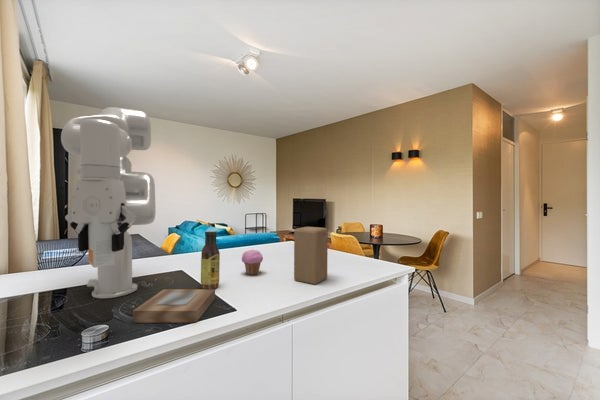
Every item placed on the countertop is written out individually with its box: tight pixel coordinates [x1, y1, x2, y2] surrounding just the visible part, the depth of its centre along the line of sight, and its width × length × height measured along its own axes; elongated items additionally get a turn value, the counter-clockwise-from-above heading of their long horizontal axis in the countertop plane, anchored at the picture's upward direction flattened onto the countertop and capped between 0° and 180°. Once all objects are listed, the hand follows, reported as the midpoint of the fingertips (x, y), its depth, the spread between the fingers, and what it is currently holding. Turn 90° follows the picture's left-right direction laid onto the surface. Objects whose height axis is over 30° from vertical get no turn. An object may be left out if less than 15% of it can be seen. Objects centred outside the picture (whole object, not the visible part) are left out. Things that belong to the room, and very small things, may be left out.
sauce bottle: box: [200, 230, 221, 289], centre depth 96 cm, size 7×6×20 cm
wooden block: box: [293, 226, 329, 285], centre depth 106 cm, size 10×10×20 cm
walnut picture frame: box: [132, 288, 216, 324], centre depth 77 cm, size 16×16×3 cm
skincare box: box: [87, 214, 115, 269], centre depth 64 cm, size 6×4×12 cm
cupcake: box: [241, 249, 264, 276], centre depth 114 cm, size 9×9×10 cm
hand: (101, 249), depth 64 cm, fingers closed on skincare box, 7 cm apart
